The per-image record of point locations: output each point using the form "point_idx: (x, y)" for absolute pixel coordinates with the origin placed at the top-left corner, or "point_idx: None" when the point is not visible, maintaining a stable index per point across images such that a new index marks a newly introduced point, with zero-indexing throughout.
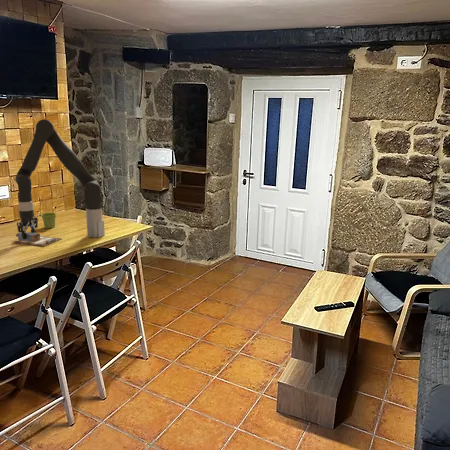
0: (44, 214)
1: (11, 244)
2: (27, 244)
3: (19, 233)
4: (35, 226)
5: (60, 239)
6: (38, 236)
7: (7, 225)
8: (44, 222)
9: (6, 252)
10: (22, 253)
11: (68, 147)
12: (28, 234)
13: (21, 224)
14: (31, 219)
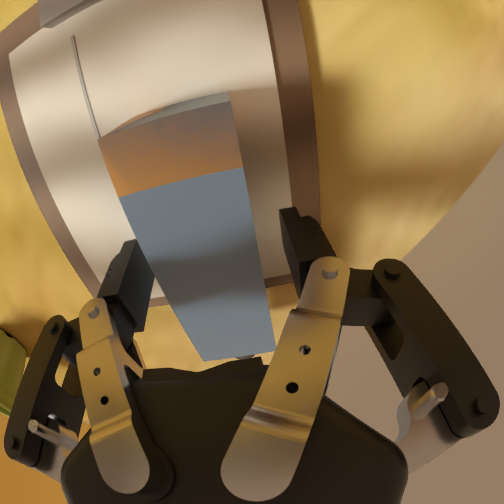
0: (9, 412)
1: (356, 258)
2: (312, 132)
3: (273, 336)
4: (70, 340)
5: (5, 30)
6: (147, 117)
7: None
8: (16, 375)
9: (494, 141)
10: (481, 20)
11: None
12: (253, 234)
13: (469, 392)
14: (115, 496)
